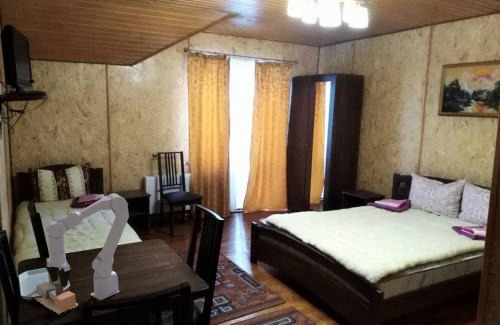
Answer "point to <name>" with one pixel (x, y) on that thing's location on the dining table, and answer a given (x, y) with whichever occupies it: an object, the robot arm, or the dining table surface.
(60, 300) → the socket block
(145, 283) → the dining table surface
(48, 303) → the birch board
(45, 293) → the grey sleeve
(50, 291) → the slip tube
